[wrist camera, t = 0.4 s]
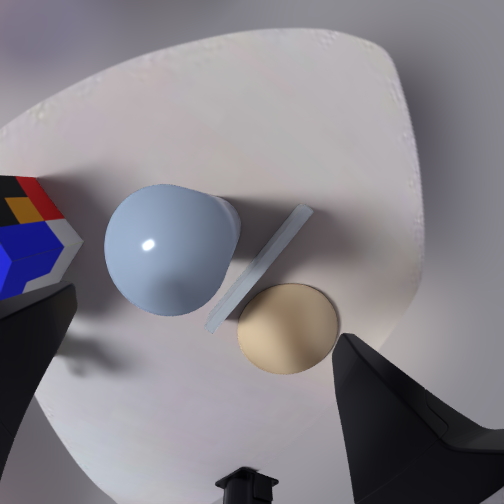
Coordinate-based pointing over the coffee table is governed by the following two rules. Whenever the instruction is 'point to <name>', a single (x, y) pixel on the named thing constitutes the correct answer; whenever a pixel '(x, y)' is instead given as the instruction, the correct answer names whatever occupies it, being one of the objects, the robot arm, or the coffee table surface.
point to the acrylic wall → (258, 266)
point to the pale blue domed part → (170, 247)
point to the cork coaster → (287, 328)
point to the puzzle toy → (32, 238)
